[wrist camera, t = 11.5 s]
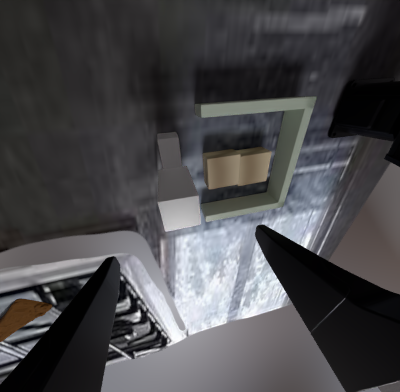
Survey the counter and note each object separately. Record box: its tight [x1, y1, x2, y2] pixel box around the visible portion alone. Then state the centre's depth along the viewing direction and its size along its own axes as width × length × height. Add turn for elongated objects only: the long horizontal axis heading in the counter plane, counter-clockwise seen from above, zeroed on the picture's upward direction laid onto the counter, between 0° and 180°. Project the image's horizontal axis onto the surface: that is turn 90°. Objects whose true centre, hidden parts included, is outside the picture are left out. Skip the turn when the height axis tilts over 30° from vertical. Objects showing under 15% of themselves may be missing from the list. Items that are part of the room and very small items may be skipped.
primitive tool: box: [0, 299, 52, 342], centre depth 27 cm, size 19×6×4 cm, turn 128°
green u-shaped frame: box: [195, 97, 317, 222], centre depth 20 cm, size 12×14×3 cm
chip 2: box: [237, 147, 271, 186], centre depth 20 cm, size 4×4×2 cm
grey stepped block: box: [157, 132, 201, 232], centre depth 16 cm, size 3×9×9 cm, turn 3°
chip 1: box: [203, 149, 241, 190], centre depth 20 cm, size 4×4×2 cm
